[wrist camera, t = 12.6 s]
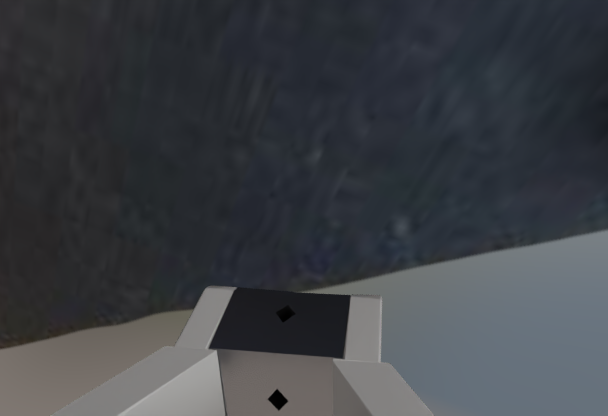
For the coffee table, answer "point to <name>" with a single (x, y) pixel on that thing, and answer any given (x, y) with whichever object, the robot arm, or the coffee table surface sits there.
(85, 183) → the coffee table surface
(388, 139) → the coffee table surface
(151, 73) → the coffee table surface
